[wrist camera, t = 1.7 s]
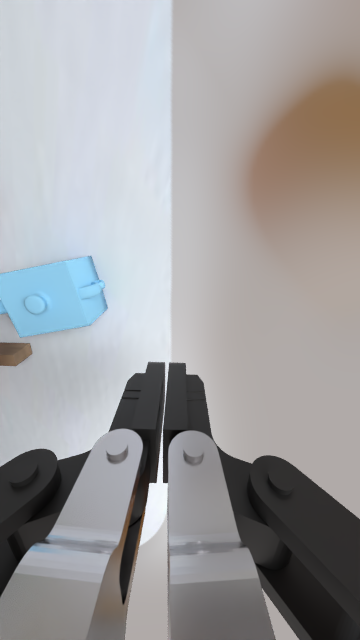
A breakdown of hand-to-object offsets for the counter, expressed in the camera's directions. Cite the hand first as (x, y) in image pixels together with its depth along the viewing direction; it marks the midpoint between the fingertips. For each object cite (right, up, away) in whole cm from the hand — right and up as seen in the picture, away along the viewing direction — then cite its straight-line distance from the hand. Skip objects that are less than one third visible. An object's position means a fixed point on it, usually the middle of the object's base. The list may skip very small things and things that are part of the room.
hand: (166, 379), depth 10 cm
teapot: (-13, +7, +16) cm, 22 cm away
